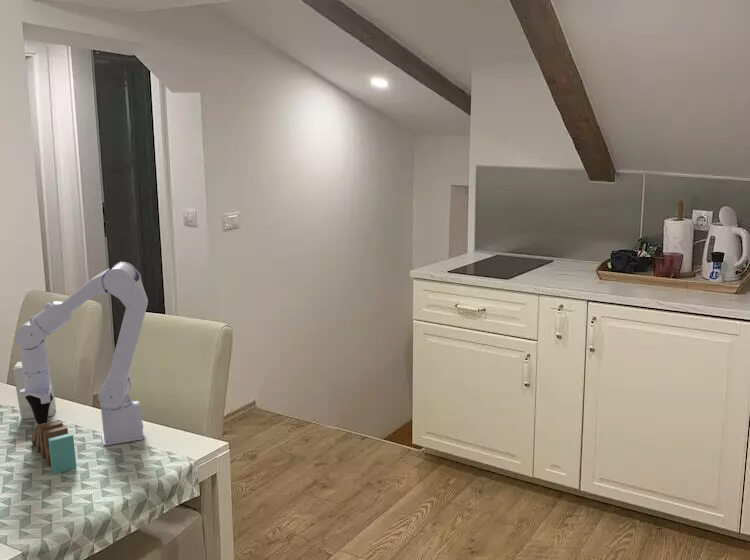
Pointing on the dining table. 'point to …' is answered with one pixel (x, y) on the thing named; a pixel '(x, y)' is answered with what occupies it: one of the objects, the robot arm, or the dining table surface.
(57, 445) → the teal domino
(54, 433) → the walnut domino
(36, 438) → the walnut domino
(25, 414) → the skincare box
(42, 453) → the walnut domino
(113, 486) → the dining table surface
